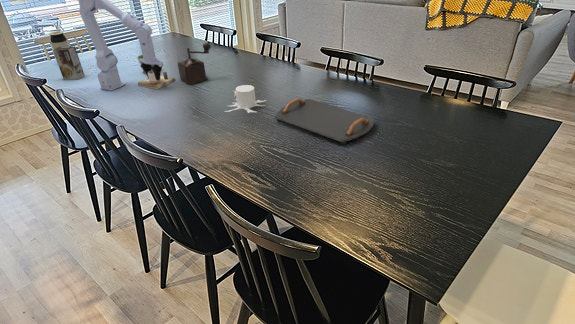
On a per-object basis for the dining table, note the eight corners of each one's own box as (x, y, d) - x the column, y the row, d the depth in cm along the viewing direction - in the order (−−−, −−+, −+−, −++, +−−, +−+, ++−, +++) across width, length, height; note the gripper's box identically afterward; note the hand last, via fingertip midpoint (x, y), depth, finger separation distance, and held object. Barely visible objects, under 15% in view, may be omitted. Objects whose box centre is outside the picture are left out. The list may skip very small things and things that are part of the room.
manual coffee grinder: (189, 85, 190) (182, 49, 181) (179, 79, 198) (173, 45, 188) (216, 78, 198) (211, 43, 189) (206, 73, 206) (201, 39, 196)
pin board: (156, 89, 187) (154, 79, 185) (138, 85, 193) (135, 75, 190) (175, 80, 197) (173, 71, 194) (156, 77, 202) (154, 68, 200)
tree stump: (243, 94, 180) (241, 77, 175) (276, 102, 170) (275, 85, 166) (213, 109, 166) (211, 92, 162) (248, 119, 156) (246, 101, 152)
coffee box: (85, 75, 209) (75, 46, 200) (78, 79, 203) (68, 49, 195) (69, 75, 210) (59, 46, 201) (62, 79, 204) (51, 49, 196)
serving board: (268, 121, 154) (267, 107, 151) (304, 102, 169) (304, 89, 166) (348, 151, 132) (349, 135, 129) (381, 127, 147) (383, 112, 144)
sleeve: (162, 80, 191) (160, 70, 188) (155, 83, 187) (152, 74, 184) (155, 79, 193) (153, 69, 190) (147, 82, 189) (145, 72, 186)
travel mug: (69, 65, 226) (59, 34, 216) (56, 65, 226) (45, 34, 216) (76, 60, 233) (66, 30, 223) (63, 61, 233) (53, 31, 223)
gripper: (165, 50, 182) (170, 78, 189) (143, 47, 188) (149, 74, 195) (154, 54, 176) (160, 82, 184) (132, 51, 183) (139, 78, 190)
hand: (154, 78), depth 189 cm, fingers closed on sleeve, 5 cm apart
